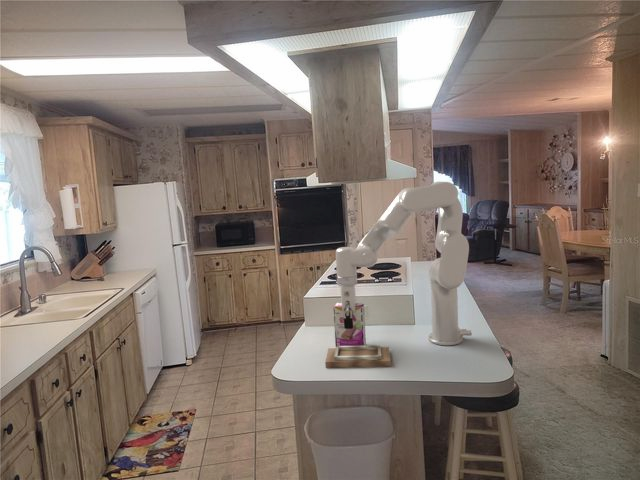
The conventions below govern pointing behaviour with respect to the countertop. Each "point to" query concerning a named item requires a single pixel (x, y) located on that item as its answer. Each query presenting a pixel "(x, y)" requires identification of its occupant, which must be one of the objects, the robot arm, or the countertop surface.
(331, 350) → the walnut plinth
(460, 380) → the countertop surface
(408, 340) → the countertop surface
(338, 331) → the candy bar box
